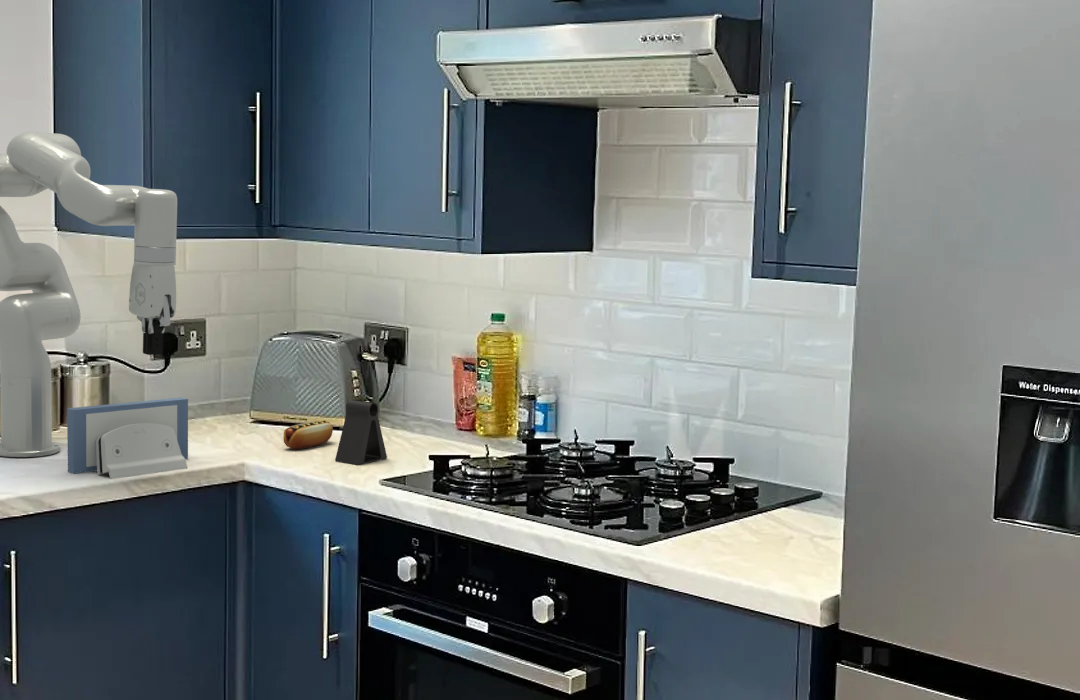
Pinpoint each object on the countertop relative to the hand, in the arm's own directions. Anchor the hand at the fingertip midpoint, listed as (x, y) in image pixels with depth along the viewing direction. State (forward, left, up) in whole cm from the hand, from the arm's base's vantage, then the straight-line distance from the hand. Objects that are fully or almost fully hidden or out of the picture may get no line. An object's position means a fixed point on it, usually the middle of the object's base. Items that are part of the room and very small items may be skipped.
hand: (152, 353), depth 268 cm
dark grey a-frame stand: (+14, +39, -23) cm, 47 cm away
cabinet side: (-8, 0, -23) cm, 24 cm away
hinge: (-3, -1, -23) cm, 23 cm away
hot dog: (-4, +39, -23) cm, 45 cm away
